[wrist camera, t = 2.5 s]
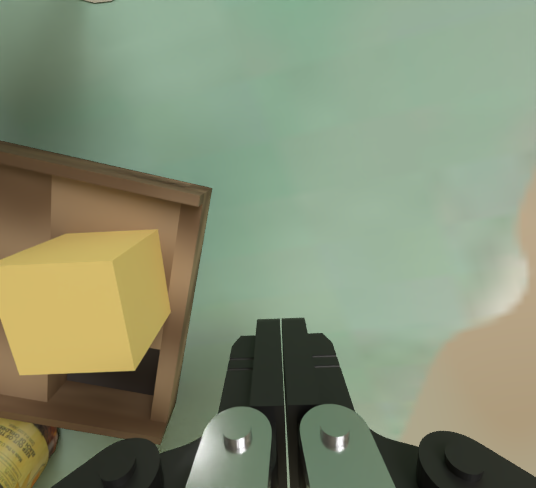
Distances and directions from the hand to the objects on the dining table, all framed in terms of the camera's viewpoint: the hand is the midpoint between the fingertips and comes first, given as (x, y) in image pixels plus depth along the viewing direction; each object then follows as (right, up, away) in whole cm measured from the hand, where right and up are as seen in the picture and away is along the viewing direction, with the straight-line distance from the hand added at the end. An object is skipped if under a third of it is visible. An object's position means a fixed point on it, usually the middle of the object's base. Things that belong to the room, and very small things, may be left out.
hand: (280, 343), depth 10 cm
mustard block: (-8, +2, +6) cm, 10 cm away
